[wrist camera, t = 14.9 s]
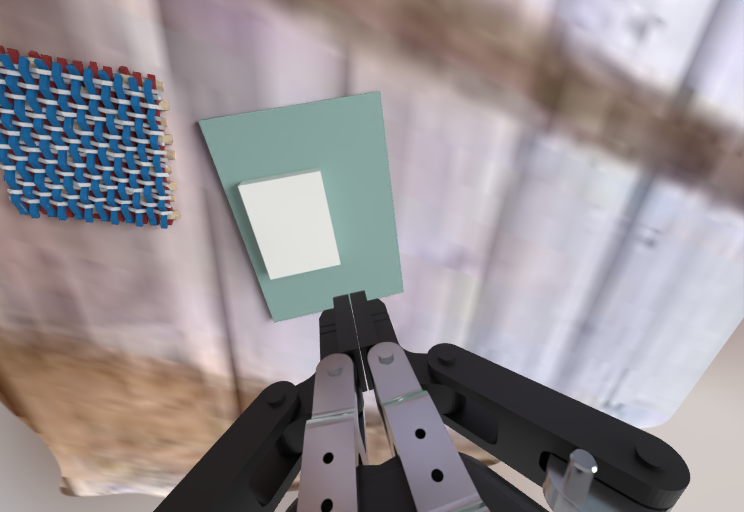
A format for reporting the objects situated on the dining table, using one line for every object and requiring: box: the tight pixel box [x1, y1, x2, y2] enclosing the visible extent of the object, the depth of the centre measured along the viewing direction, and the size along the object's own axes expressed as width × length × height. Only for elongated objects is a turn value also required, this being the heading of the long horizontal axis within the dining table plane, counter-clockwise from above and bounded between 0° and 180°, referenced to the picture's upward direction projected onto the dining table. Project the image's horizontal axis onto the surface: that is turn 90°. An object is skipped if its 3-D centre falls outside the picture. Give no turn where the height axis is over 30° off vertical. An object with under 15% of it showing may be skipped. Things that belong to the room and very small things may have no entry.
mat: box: [199, 91, 404, 323], centre depth 26 cm, size 18×13×1 cm
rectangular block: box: [238, 167, 341, 280], centre depth 25 cm, size 6×2×8 cm
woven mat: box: [0, 46, 180, 229], centre depth 21 cm, size 10×11×2 cm
